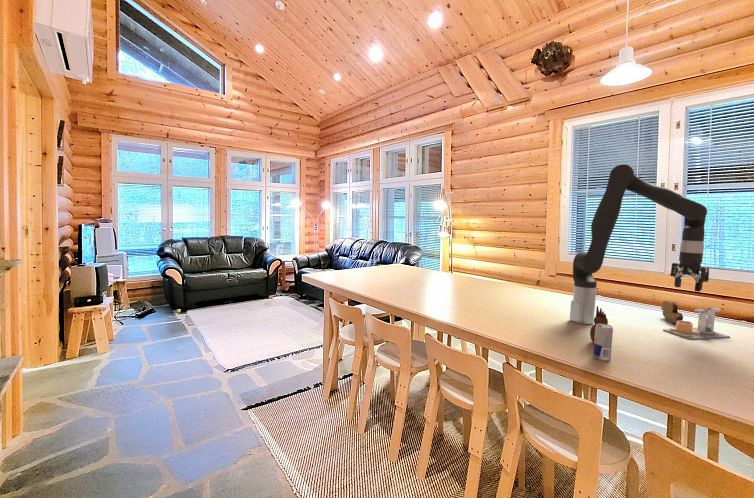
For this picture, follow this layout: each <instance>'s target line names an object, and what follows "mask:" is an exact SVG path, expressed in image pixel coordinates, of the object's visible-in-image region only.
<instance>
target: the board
mask: <svg viewBox="0 0 754 498" xmlns="http://www.w3.org/2000/svg"><path fill="white" fill-rule="evenodd" d="M669 329H670V328H666V329H665V328H663V329H662V331H663V332H665V333H668V334H672V335H675V336H678V337H680V338H683V339H687V340H689V341H691V340H693V341H694V340H695V341H696V340H709V339H711V340H712V339H729V338H731V336H730V335H726V334H723V333H720V332H717V331H714V330H713V334H699V335H696V334H691V335H687V334H681V333H678V332H674V331H670V330H669ZM697 329H698V327H693V328H692V331H697Z"/></svg>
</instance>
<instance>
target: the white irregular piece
mask: <svg viewBox="0 0 754 498" xmlns="http://www.w3.org/2000/svg"><path fill="white" fill-rule="evenodd" d="M721 311H722V309H721V308H717V307H707V310H705V309H703V308H695V309H694V312H697V313H698V321H697V328H698V329H697V332H699V334H713V331H714V328H715V319H716V313H717V312H718V313H719V312H720V313H721Z"/></svg>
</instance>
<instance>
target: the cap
mask: <svg viewBox="0 0 754 498" xmlns="http://www.w3.org/2000/svg"><path fill="white" fill-rule="evenodd" d="M692 328H694V323H692V321H688V320H682V321H680V320H679V321H677V323H676V324H675V327H674V328H673V327H669V328H668V329H669V330H670V331H674V332H678V333H681V334H687V335H691V334H696V335H699V332H697V331H692Z"/></svg>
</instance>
